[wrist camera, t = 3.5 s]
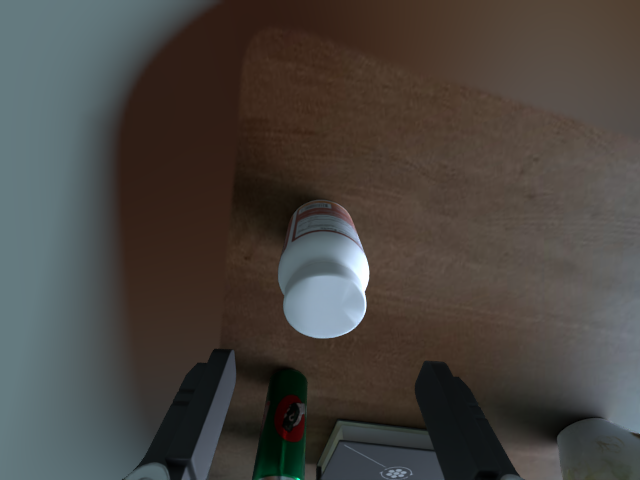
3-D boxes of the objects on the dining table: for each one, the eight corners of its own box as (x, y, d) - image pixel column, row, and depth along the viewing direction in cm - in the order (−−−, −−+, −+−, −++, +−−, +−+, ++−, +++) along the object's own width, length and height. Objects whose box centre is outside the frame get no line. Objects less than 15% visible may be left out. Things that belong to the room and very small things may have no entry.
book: (315, 465, 44) (315, 488, 41) (337, 418, 38) (339, 441, 35) (428, 476, 47) (435, 498, 44) (466, 433, 40) (477, 456, 37)
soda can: (265, 369, 33) (240, 493, 22) (303, 363, 32) (296, 487, 21) (275, 392, 35) (257, 516, 24) (311, 387, 34) (308, 511, 24)
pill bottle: (324, 267, 26) (329, 362, 16) (275, 232, 24) (246, 315, 14) (366, 225, 24) (403, 304, 14) (317, 183, 22) (318, 239, 12)
